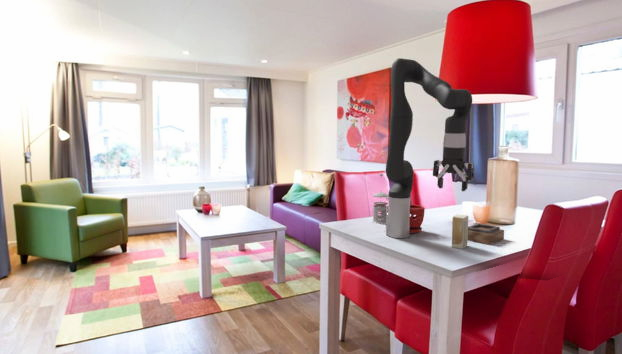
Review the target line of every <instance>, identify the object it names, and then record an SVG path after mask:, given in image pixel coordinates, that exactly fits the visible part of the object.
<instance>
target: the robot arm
mask: <svg viewBox="0 0 622 354" xmlns="http://www.w3.org/2000/svg"><path fill="white" fill-rule="evenodd" d="M405 83H414V84H417V85H420V86H421V88H422V90H423V91H424V92H425V93H426V94H427V95H429V96H430V97H432V98H434V99H435V100H436V101H437V102H438V103H439V105H440V106H441V107H443V108H444V109H446V110H450V111H451V110H453V111H454V112H453V114H452V115H450V116H447V118H446V119H445V121H444V122H445V123H444V136H443V141H442V146H443V147H442V160H439V159H436V160H434V161H433V167H432V176H433V177H436V178H437V187H438V189H443V188H444V178H443V177H444V176H445V175H446V174H454V175H457V174H458V176H459V177H460V178H461V180H462V181H461V192H466V190H467V189H468V187H469V186H468V185H469V181H471V180H474V178H475V177H474V176H475V175H474V173H475V168H474V167H475V165H474V162H469V163H468V162H465V159H466V143H467V142H466V141H467V140H466V139H467V137H466V130H467V127H466V126H467V120H468V118H469V115H470V112H471V108H472V105H473V96H472V93H471V91H470V90H468V89H463V88H459V89H458V88H456V89H455V88H452V85H451V84H450V83H449V82H447V81H445V80H444V79H442V78H440V77H438V76H436V75H435V74H432V73H431V72H430V71H428V69H426V68H425V67H424V66H423V65H422V64H420V62H418V61H417V60H415V59H408V58H400V57H399V58H396V59H395V60H393V62H392V65H391V69H390V86H391V87H390V88H391V89H390V90H391V92H390V93H391V100H390V101H391V103H390V117H389V118H390V119H389V120H390V121H389V138H388V139H389V140H388V153H387V158H386V164H385V175H386V178H387V180H389V181H390V182H392V183H393V184H392V186H391V188H390V189H389V190H388V195H389V197H388V198H389V199H388V198H387V201H388V202H387V203H388V204H387V206H388V213H387V212H386V213H387V214H386V223H385V235H386V236H388V237H391V238H394V239H406V238H410V233H409V229H410V216H411V214H410V205H411V193H412V190H413V186H414V185H413V184H414V182H413V181H414V168H413V165H412V163H411V162H410V161H408V160H405V149H406V146H407V144H408V141H409V139H410V136H411V133H412V131H413V130H412V129H413V120H414V119H413V118H414V117H413V116H414V115H413V114H414V113H413V110H412V107H411V105H410V103H409V101H408V99H407V96H406V91H405V87H406V86H405V85H406V84H405ZM441 166H442V169H441V170H440V167H441ZM464 168H466V170H467V173H466V171H465V170H464ZM439 171H440V172H439Z"/></svg>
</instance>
